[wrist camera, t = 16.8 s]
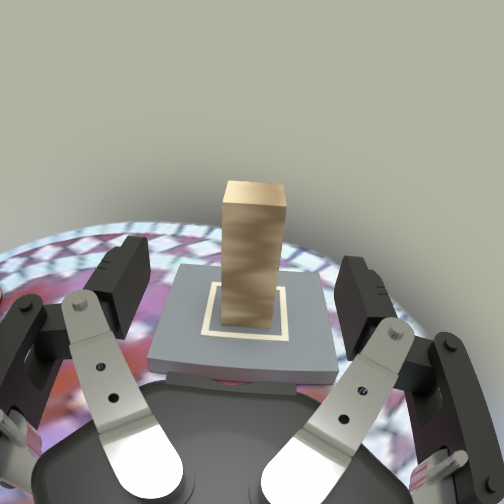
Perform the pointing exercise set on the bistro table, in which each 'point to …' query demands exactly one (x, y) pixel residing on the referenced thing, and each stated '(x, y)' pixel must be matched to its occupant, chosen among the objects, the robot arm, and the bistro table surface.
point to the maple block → (251, 252)
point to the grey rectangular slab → (245, 333)
